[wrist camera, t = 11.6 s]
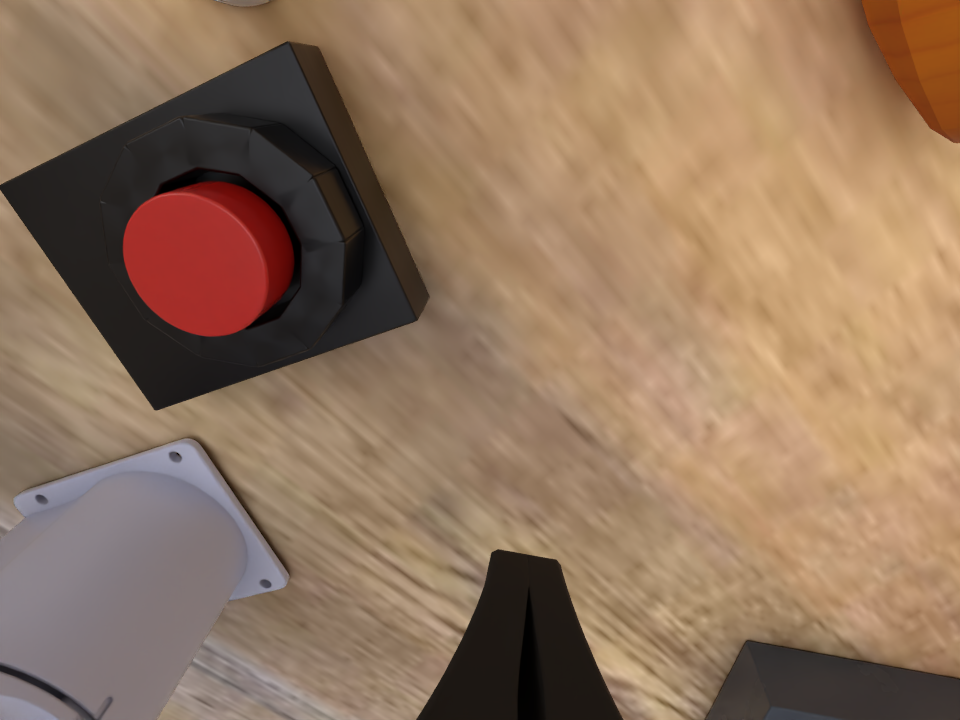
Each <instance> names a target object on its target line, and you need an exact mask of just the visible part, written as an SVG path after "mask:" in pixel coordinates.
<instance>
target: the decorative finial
mask: <svg viewBox="0 0 960 720" xmlns="http://www.w3.org/2000/svg"><path fill="white" fill-rule="evenodd" d="M214 1H218V2H222V3H225V4H229V5H234V6H243V7H248V6H256V5H261V4H264V3H267V2H269V1H271V0H214Z"/></svg>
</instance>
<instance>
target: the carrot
mask: <svg viewBox="0 0 960 720" xmlns="http://www.w3.org/2000/svg"><path fill="white" fill-rule="evenodd" d="M861 1H862V4H863V8H864V11H865V15H866V18H867V22H868V25H869V28H870V30H871V32H872V34H873V36H874V38H875V40H876V42H877V44H878V46H879V48H880V50H881V52H882V54H883V56H884V58H885V60H886V62H887V64H888V66H889V68H890V70H891V72H892V74H893V76H894V78H895V80H896V81H897V82H898V84H899V85H900V87H901V88H902V89H903V91H904V92H905V94H906V95H907V96H908V98H909V99H910V101H911V102H912V103H913V105H914V106H915V108H916V109H917V110H918V112H919V113H920V115H921V116H922V117H923V119H924V120H925V122H926V123H927V124H928V126H929V127H930V128H931V129H932V130H934V131H936V132H937V133H939V134H940V135H942V136H944V137H945V138H947V139H949V140H950V141H952V142H953V143H960V0H861Z"/></svg>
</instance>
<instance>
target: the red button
mask: <svg viewBox="0 0 960 720" xmlns="http://www.w3.org/2000/svg"><path fill="white" fill-rule="evenodd" d="M123 257H124V262H125V266H126V270H127V273H128V275H129V278H130V280H131V282H132V284H133V286H134V288H135V289H136V291H137V293H138V294H139V295H140V297H141V298H142V300H143V301H144V302H145V303H146V304H147V305H148V307H149V308H150V309H151V310H153V311H154V312H155V313H156V314H157V315H158V316H159V317H161V318H162V319H163V320H165V321H166V322H168V323H170V324H171V325H173V326H175V327H177V328H179V329H181V330H183V331H186V332H189V333H192V334H196V335H201V336H225V335H230V334H233V333H236V332H238V331H241V330H243V329H244V328H246V327H247V326H249V325H250V324H251V323H253V322H254V321H255V320H256V319H257V318H259V317H260V316H261V315H262V314H263V313H265V312H266V311H267V310H268V309H269V308H271V307H272V306H273V305H274V304H275V303H277V302H278V301H279V300H280V299H281V298H282V296H283V295H284V294H285V293H286V291H287V289H288V287H289V286H290V283H291V280H292V277H293V272H294V251H293V246H292V242H291V239H290V236H289V234H288V231H287V229H286V227H285V225H284V224H283V222H282V220H281V219H280V217H279V216H278V215H277V213H276V212H275V211H274V210H273V209H272V208H271V207H270V206H269V205H268V204H267V203H266V202H265V201H264V200H263V199H261V198H260V197H259V196H257V195H256V194H254V193H253V192H251V191H249V190H247V189H245V188H243V187H241V186H238V185H235V184H232V183H227V182H221V181H206V182H201V183H197V184H193V185H190V186H186V187H183V188H180V189H176V190H173V191H169V192H166V193H162V194H159V195H157V196H154V197H152V198H150V199H148V200H147V201H145V202H144V203H143V204H142V205H140V206H139V207H138V208H137V210H136V211H135V212H134V213H133V215H132V216H131V218H130V220H129V222H128V224H127V227H126V229H125V233H124V238H123Z"/></svg>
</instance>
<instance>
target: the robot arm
mask: <svg viewBox="0 0 960 720" xmlns="http://www.w3.org/2000/svg"><path fill="white" fill-rule="evenodd" d="M175 452H177V453H179V454H180V455H181V456H178V455H177V454H176V453H175ZM13 501H14V505H15V507H16V508H17V509H18V510H19V511H20V513H21V514H22V515H23V516H24V517H25V518H24V519H23V520H22V521H21V522H20V523H19V524H17V525H16V526H15V527H14V528H13V529H11V530H10V531H9V532H8V533H7V534H6V535H4V536H3V537H2V538H1V539H0V720H157V718H158V717H159V715H160V713H161V712H162V710H163V708H164V707H165V705H166V703H167V702H168V700H169V698H170V697H171V695H172V693H173V692H174V690H175V688H176V687H177V685H178V683H179V682H180V680H181V678H182V677H183V675H184V673H185V672H186V670H187V668H188V667H189V665H190V663H191V662H192V660H193V658H194V657H195V655H196V653H197V652H198V650H199V648H200V647H201V645H202V643H203V642H204V640H205V638H206V637H207V635H208V633H209V632H210V630H211V628H212V627H213V625H214V623H215V622H216V620H217V618H218V617H219V615H220V613H221V612H222V610H223V608H224V607H225V605H226V603H227V602H228V601H232V600H236V599H240V598H244V597H248V596H253V595H257V594H261V593H265V592H269V591H274V590H278V589H282V588H284V587H285V586H286V584H287V582H288V580H289V574H288V572H287V571H286V569H285V568H284V567H283V565H282V564H281V562H280V561H279V559H278V558H277V556H276V555H275V553H274V552H273V550H272V549H271V547H270V546H269V545H268V543H267V542H266V540H265V539H264V537H263V536H262V534H261V533H260V531H259V530H258V528H257V527H256V526H255V524H254V523H253V521H252V520H251V518H250V517H249V515H248V514H247V512H246V511H245V509H244V508H243V507H242V505H241V504H240V502H239V501H238V499H237V498H236V496H235V495H234V493H233V492H232V490H231V489H230V488H229V486H228V485H227V483H226V482H225V480H224V479H223V477H222V476H221V474H220V473H219V471H218V470H217V468H216V467H215V466H214V464H213V463H212V461H211V460H210V458H209V457H208V455H207V454H206V452H205V451H204V449H203V448H202V447H201V445H200V444H199V443H198V442H197V441H195V440H193V439H189V438H185V439H181V440H178V441H175V442H172V443H169V444H166V445H163V446H159V447H156V448H153V449H150V450H147V451H144V452H141V453H138V454H135V455H132V456H129V457H126V458H123V459H119V460H116V461H113V462H110V463H107V464H104V465H101V466H98V467H95V468H92V469H89V470H86V471H83V472H80V473H76V474H73V475H70V476H67V477H64V478H61V479H58V480H55V481H52V482H49V483H46V484H43V485H40V486H37V487H33V488H30V489H27V490H24V491H22V492H20V493H19V494H18V495H17V496H15V497H14V500H13ZM417 720H623V718H622V716H621V714H620V712H619V711H618V709H617V707H616V705H615V702H614V700H613V698H612V696H611V694H610V692H609V690H608V688H607V686H606V684H605V682H604V680H603V677H602V675H601V673H600V671H599V669H598V666H597V664H596V662H595V659H594V657H593V655H592V652H591V650H590V648H589V645H588V643H587V640H586V638H585V636H584V633H583V631H582V628H581V626H580V623H579V620H578V618H577V615H576V612H575V609H574V607H573V604H572V601H571V598H570V595H569V592H568V589H567V586H566V583H565V579H564V576H563V573H562V569H561V565H560V564H559V562H558V561H557V560H554V559H549V558H543V557H538V556H532V555H527V554H521V553H516V552H510V551H504V550H499V549H498V550H496V551H494V552H492V553H491V557H490V562H489V567H488V572H487V576H486V581H485V585H484V588H483V591H482V594H481V597H480V599H479V602H478V604H477V607H476V609H475V611H474V614H473V616H472V618H471V621H470V623H469V625H468V628H467V630H466V632H465V634H464V636H463V638H462V640H461V642H460V644H459V646H458V648H457V650H456V652H455V654H454V656H453V658H452V660H451V661H450V663H449V665H448V667H447V669H446V671H445V673H444V675H443V676H442V678H441V680H440V682H439V683H438V685H437V687H436V689H435V690H434V692H433V694H432V695H431V697H430V699H429V700H428V702H427V704H426V705H425V707H424V708H423V710H422V712H421V713H420V715H419V716H418V718H417Z"/></svg>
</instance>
